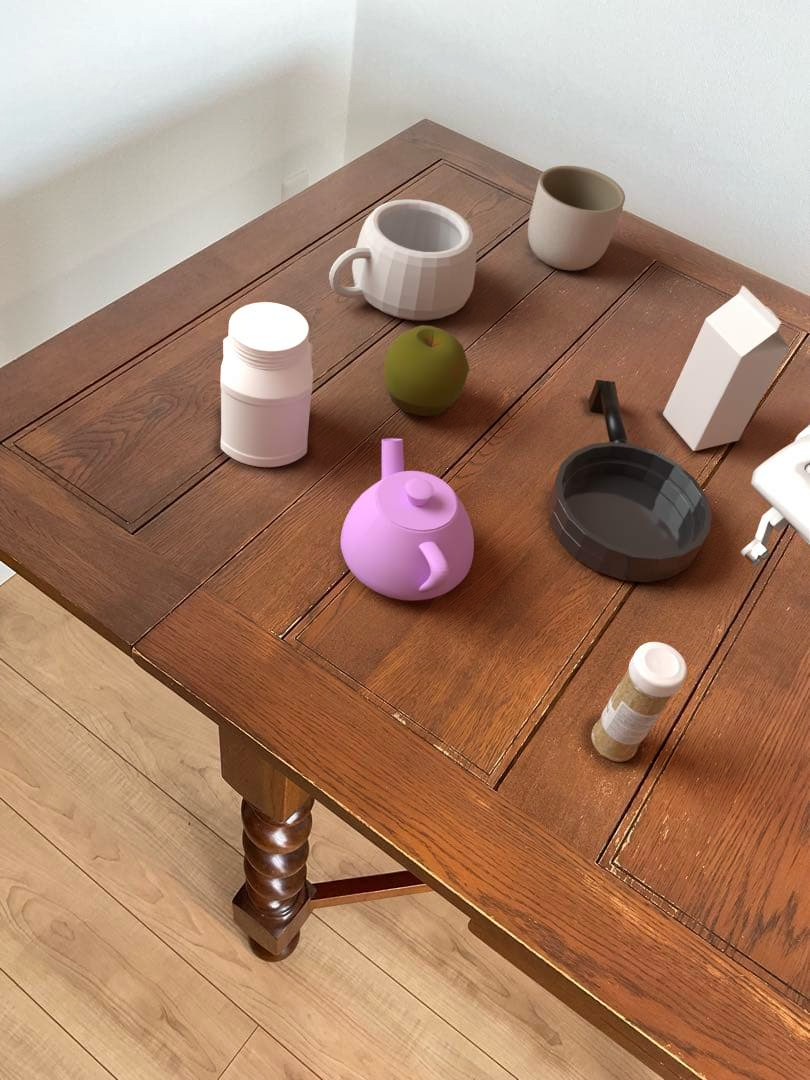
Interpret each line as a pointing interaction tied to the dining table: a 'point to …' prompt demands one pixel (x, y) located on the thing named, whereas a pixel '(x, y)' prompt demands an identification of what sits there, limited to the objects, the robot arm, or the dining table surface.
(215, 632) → the dining table surface
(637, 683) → the spice bottle
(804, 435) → the robot arm
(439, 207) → the mug
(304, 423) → the jar
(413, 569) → the teapot
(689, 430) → the milk carton
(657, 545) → the pan
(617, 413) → the pan handle
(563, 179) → the planter
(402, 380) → the apple
